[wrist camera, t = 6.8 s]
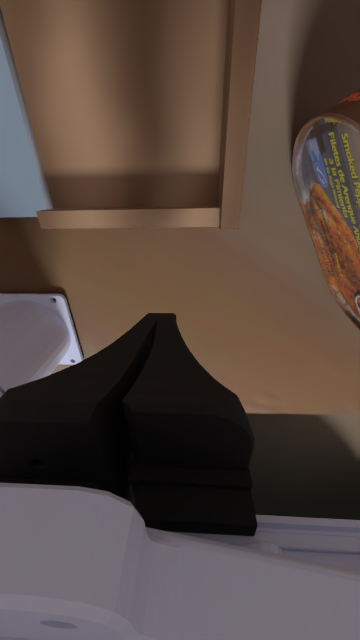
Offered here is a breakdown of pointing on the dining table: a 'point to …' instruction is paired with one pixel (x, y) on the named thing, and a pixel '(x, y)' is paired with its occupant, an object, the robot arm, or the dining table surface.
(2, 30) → the panel
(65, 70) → the light wood shallow box
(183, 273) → the dining table surface
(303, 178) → the tin
